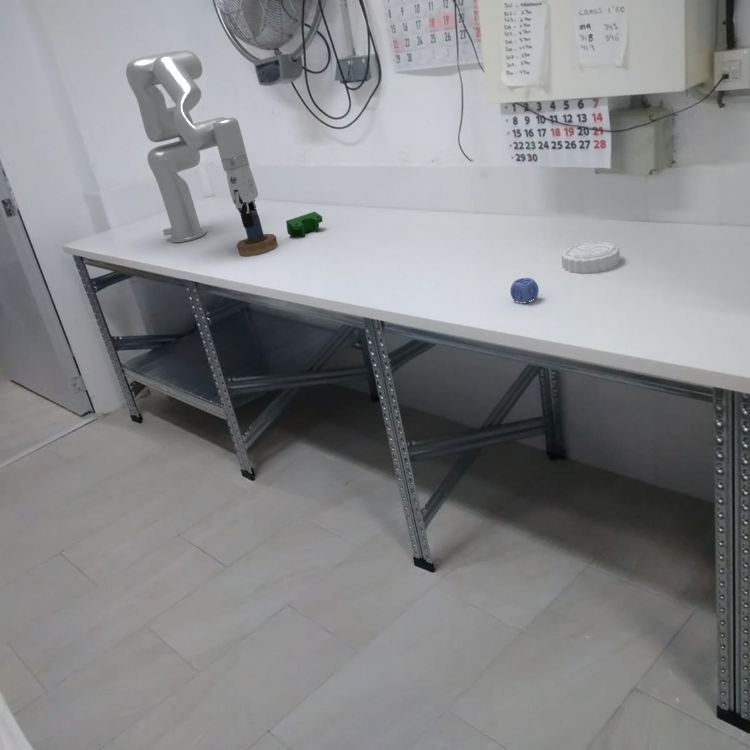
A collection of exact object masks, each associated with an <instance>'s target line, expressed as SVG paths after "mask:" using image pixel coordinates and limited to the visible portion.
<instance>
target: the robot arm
mask: <svg viewBox="0 0 750 750" xmlns="http://www.w3.org/2000/svg"><path fill="white" fill-rule="evenodd" d="M125 70H126V71H125V74H126V79H127V82H128V84H129V87H130V89H131V91H132V93H133V94H134V97H135V98H136V101H137V104H138V107H139V108H138V109H139V113H140V116H141V120H142V123H143V124H142V125H143V128H144V132H145V135H146V137H147V138H148V140H149V141H150V142H152V143H162V142H166V141H170V140H174V139H177V138H178V140H177V141H173V142H170V143H166V144H162V145H158V146H156V147H154V148H152V149H151V150H149V152H148V154H147V163H148V166H149V168H150V170H151V171H152V174H153V176H154V178H155V180H156V183H157V186H158V189H159V192H160V194H161V197H162V201H163V204H164V207H165V211H166V213H167V214H166V215H167V216H168V221H169V223H170V226H171V227H169V228H164V229H163V230H162V232H163V235H164V236H169V235H170V241H171V243H174V244H175V243H177V244H178V243H184V242H190V241H193V240H196V239H199V238H202V237H204V236H205V235H206V234H207V233H208V232H207V230H206V229H205V228H201V224H200V221H199V218H198V215H197V211H196V207H195V204H194V200H193V197H192V195H191V191H190V190H191V189H190V187H189V185H188V183H187V181H186V180H185V179H184V178H183V177H181V176H180V175H179V174H178V173H180V172H183V171H185V170H186V171H187V170H189V169H193V168H195V167H197V166H199V164H200V161H201V153H200V151H205V150H208V149H211V148H215V147H217V149H218V154H219V157H220V161H221V164H222V168H223V171H224V172H226V179H227V183H228V189H229V192H230V196H231V200H232V202H233V204H234V205H235V208H236V209H237V211H238V212H239V216H240V218H241V223H242V222H243V223H242V224H243V225H242V226H243V228H244V229H245V228H246V227H253V226H254V222H253V218H252V214H251V213H250V212H249V211H252V210H256V213H257V214H258V210H257V205H256V200H255V199H257V197H258V196H259V191H258V189H257V185H256V182H255V179H254V175H253V172H252V169H251V168H250V167H251V166H250V162H249V159H248V154H247V151H246V147H245V142H244V139H243V135H242V132H241V127H240V123H239V121H238V119H237V118H235V117H221V116H220V117H215V118H212V119H211V118H210V119H208V120H203V121H198V122H196V123H194V121H193V119H192V116H191V114H190V111H192V110H193V109H194V108H195V107H196V106H197V105H198V104H199V103H200V100H201V99H202V91H201V89H200V87H199V86H198V84H197V83H196V80H199V79H200V77H202V74H203V65H202V62H201V60H200V58H199V57H198V55H197V54H196V53H194V52H193V51H191V50H189V49H187V50H177V51H173V50H172V51H167V52H163V53H162V52H161V53H158V54H152V55H147V56H141V57H139V58H135V59H133V60H131V61H129V62H128V63H127V65H126V68H125ZM194 80H195V81H194ZM158 85H161V86H162V88H163V89H164V91H165V92H166V93H167V95H168V96H169V97H170V98H171V100H172V101H173V103H174V104H175V106H171V107H167V104H166V98H165V96H164V94H163V92H162V91H161V90H160V89H159V88H158V87H157V86H158ZM242 201H243V202H245V203H242V204H241V202H242ZM242 205H245V207H246V208H245V207H244V206H242ZM258 215H259V214H258Z"/></svg>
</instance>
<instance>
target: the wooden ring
mask: <svg viewBox="0 0 750 750" xmlns="http://www.w3.org/2000/svg"><path fill="white" fill-rule="evenodd" d="M278 246H279V244H278V240H277V236H276V235H275V234H273V233H263V237H262V238H258V239H254V240H250V241H249V240H248V237H247V238H245V239H242V240H240V241H238V242H237V243H236V248H237V252H238V255H239V256H240V257H252V256H259V255H263V254H266V253H269V252H271V251H274V250H275V249H277V248H278Z"/></svg>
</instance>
